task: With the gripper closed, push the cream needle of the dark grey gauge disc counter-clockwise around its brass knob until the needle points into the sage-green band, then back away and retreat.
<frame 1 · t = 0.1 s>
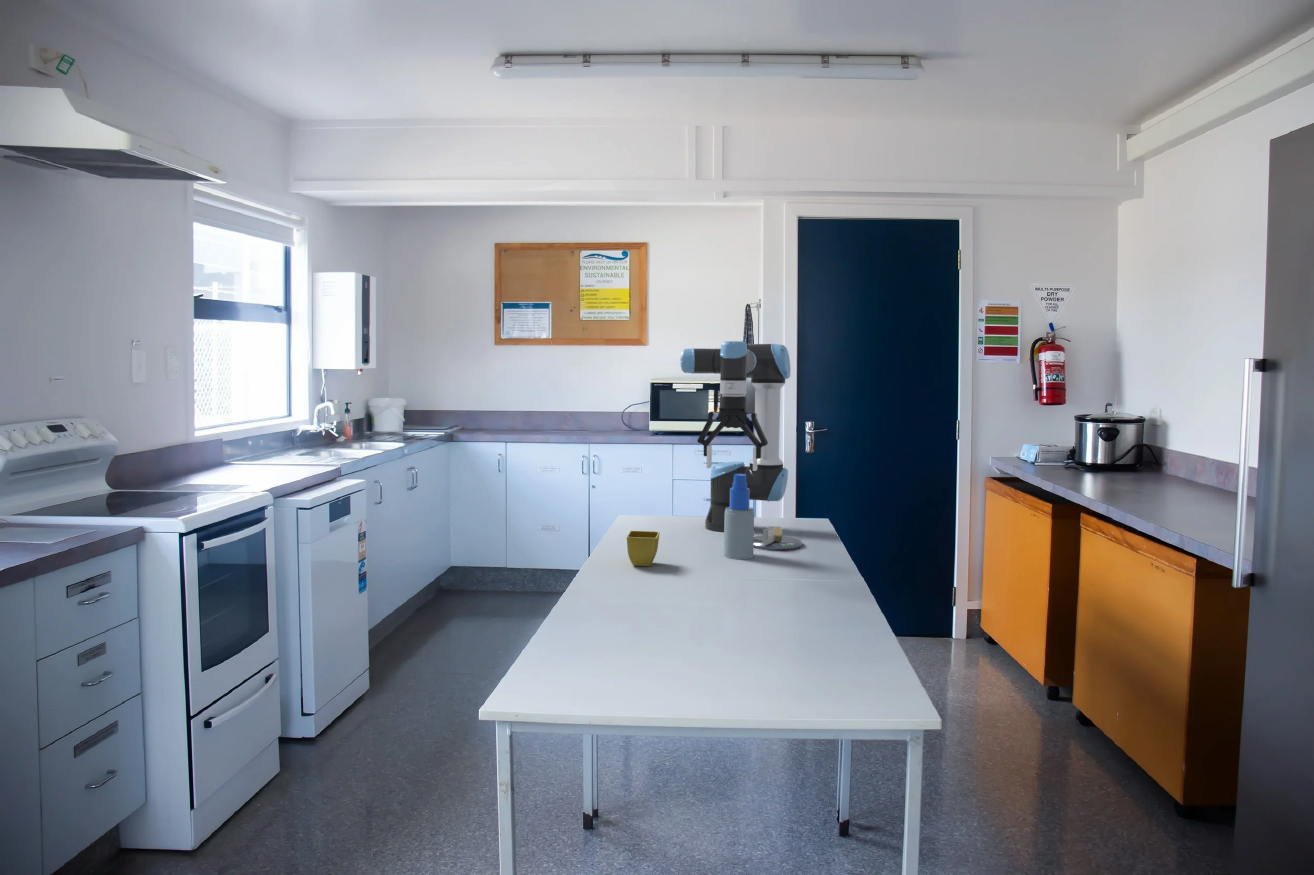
hand: (731, 469, 233), 28 cm above the table, fingers open, 13 cm apart
spray bottle: (738, 556, 246), on the table
needle dial: (771, 534, 258), point 4 cm above the table, hinge at -10.0°
gauge plate: (774, 544, 261), on the table
gold square bowl: (643, 565, 235), on the table
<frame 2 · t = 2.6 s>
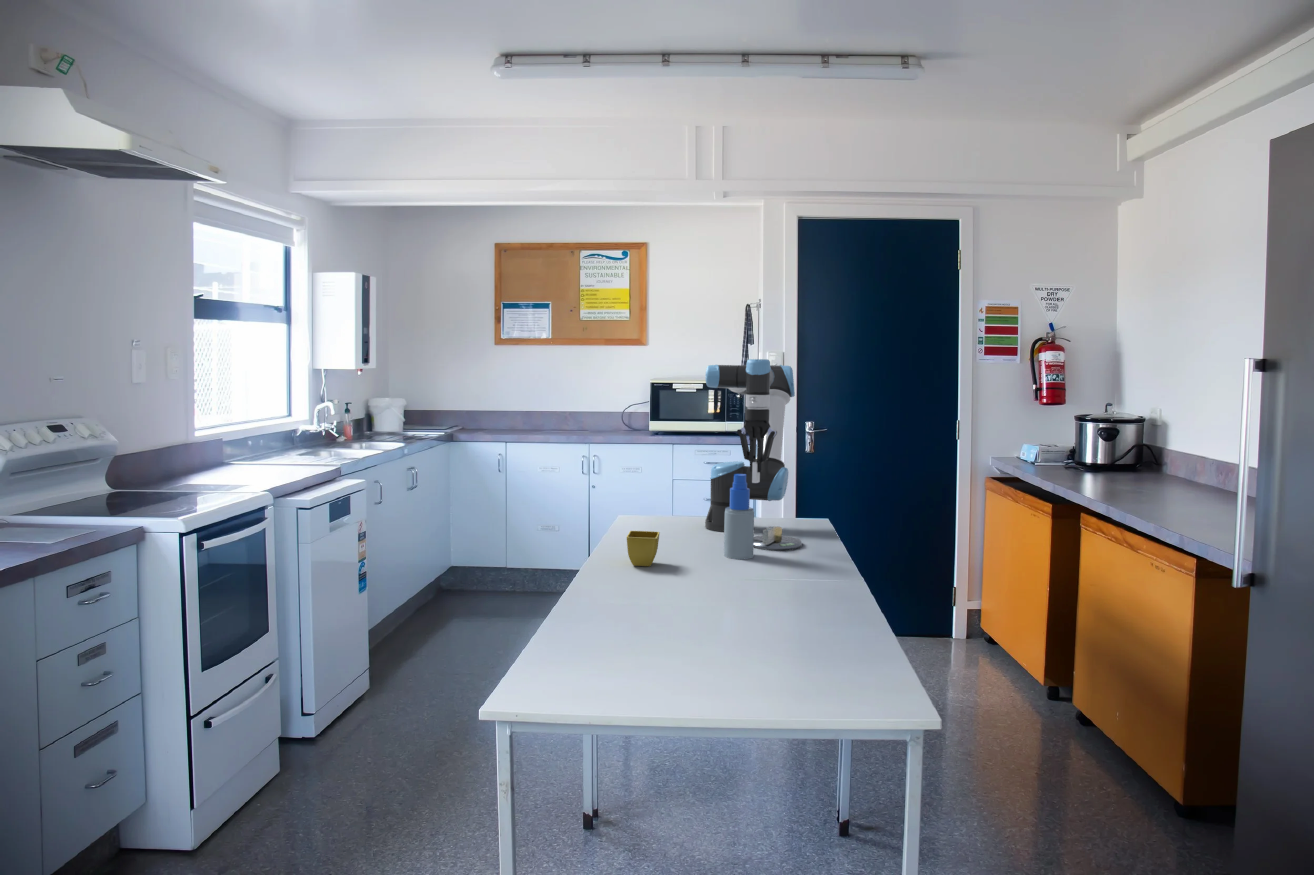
hand: (755, 482, 257), 21 cm above the table, fingers closed
nothing on the table moved.
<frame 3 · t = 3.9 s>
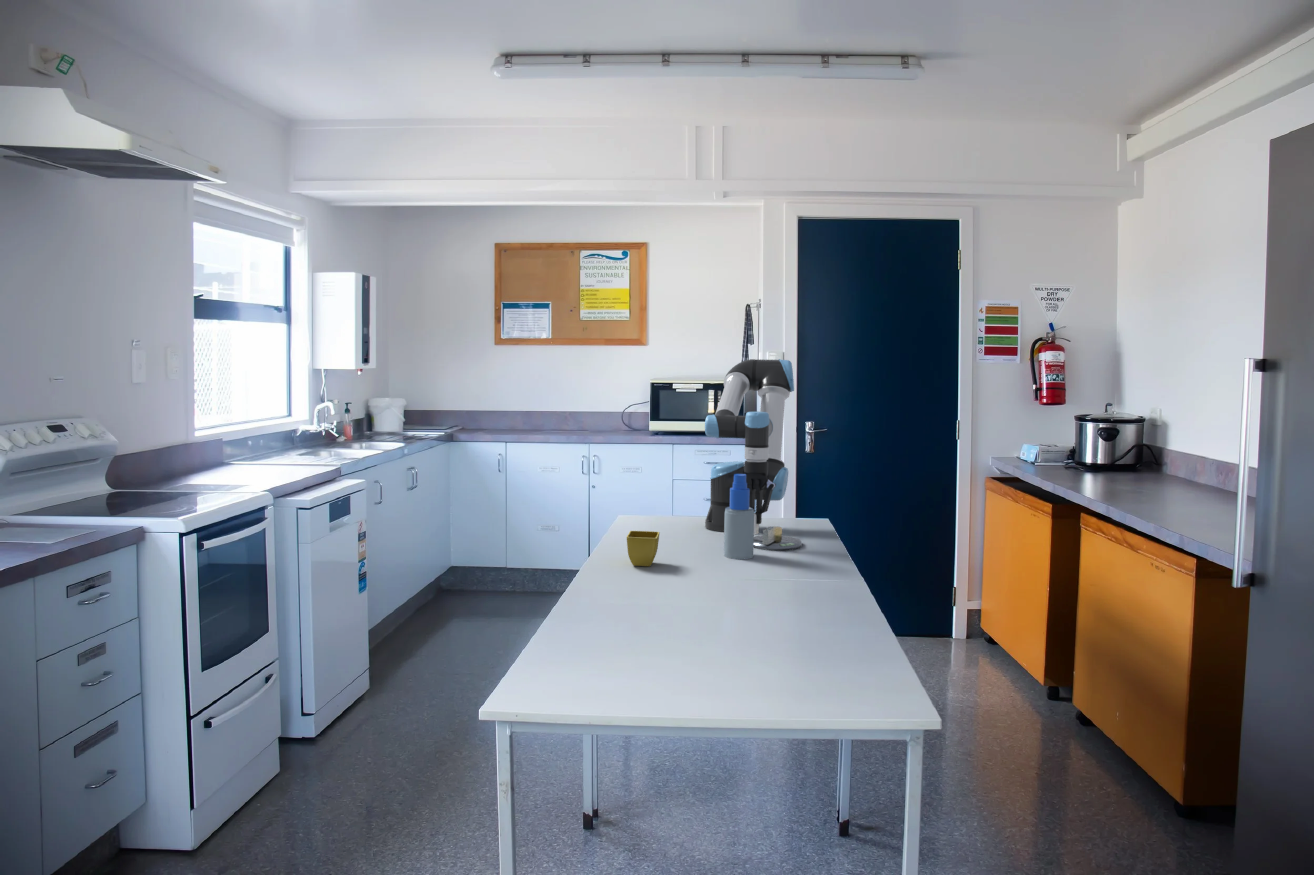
hand: (754, 533, 258), 4 cm above the table, fingers closed
nothing on the table moved.
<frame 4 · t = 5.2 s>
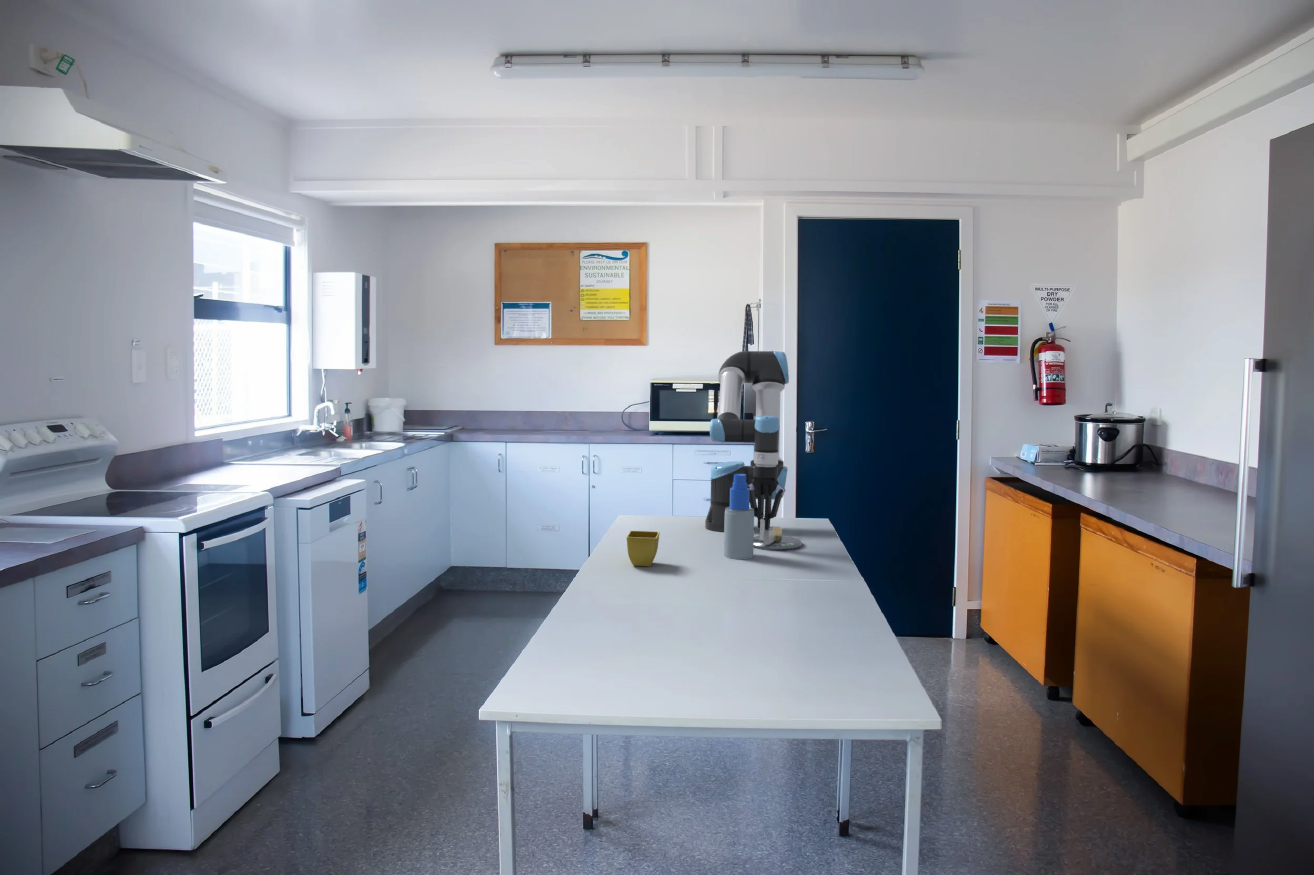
hand: (763, 539, 255), 3 cm above the table, fingers closed
needle dial: (771, 534, 258), point 4 cm above the table, hinge at -8.3°, touching gripper
everything else where it was.
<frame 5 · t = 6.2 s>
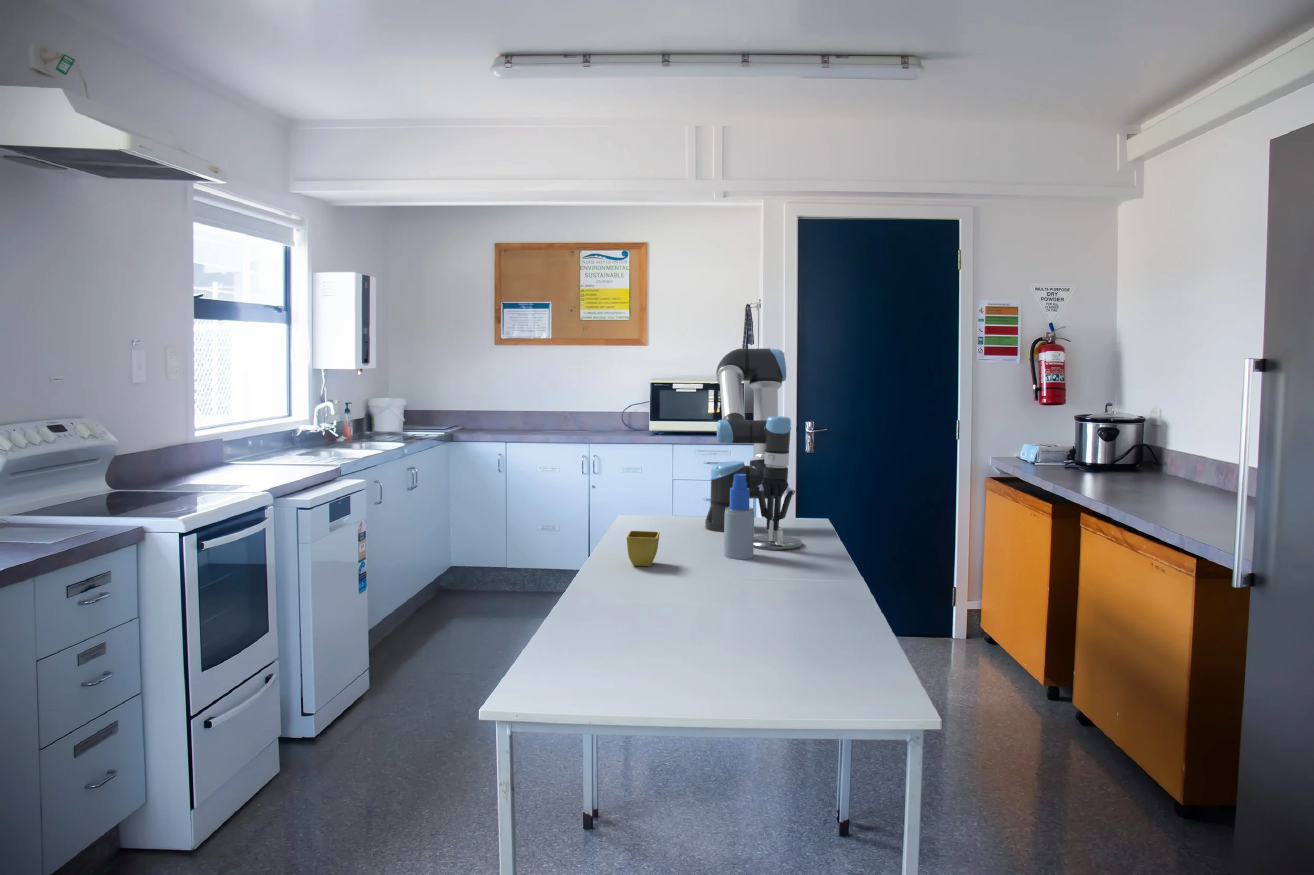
hand: (771, 540, 254), 3 cm above the table, fingers closed
needle dial: (776, 534, 257), point 4 cm above the table, hinge at 21.2°, touching gripper
everything else where it was.
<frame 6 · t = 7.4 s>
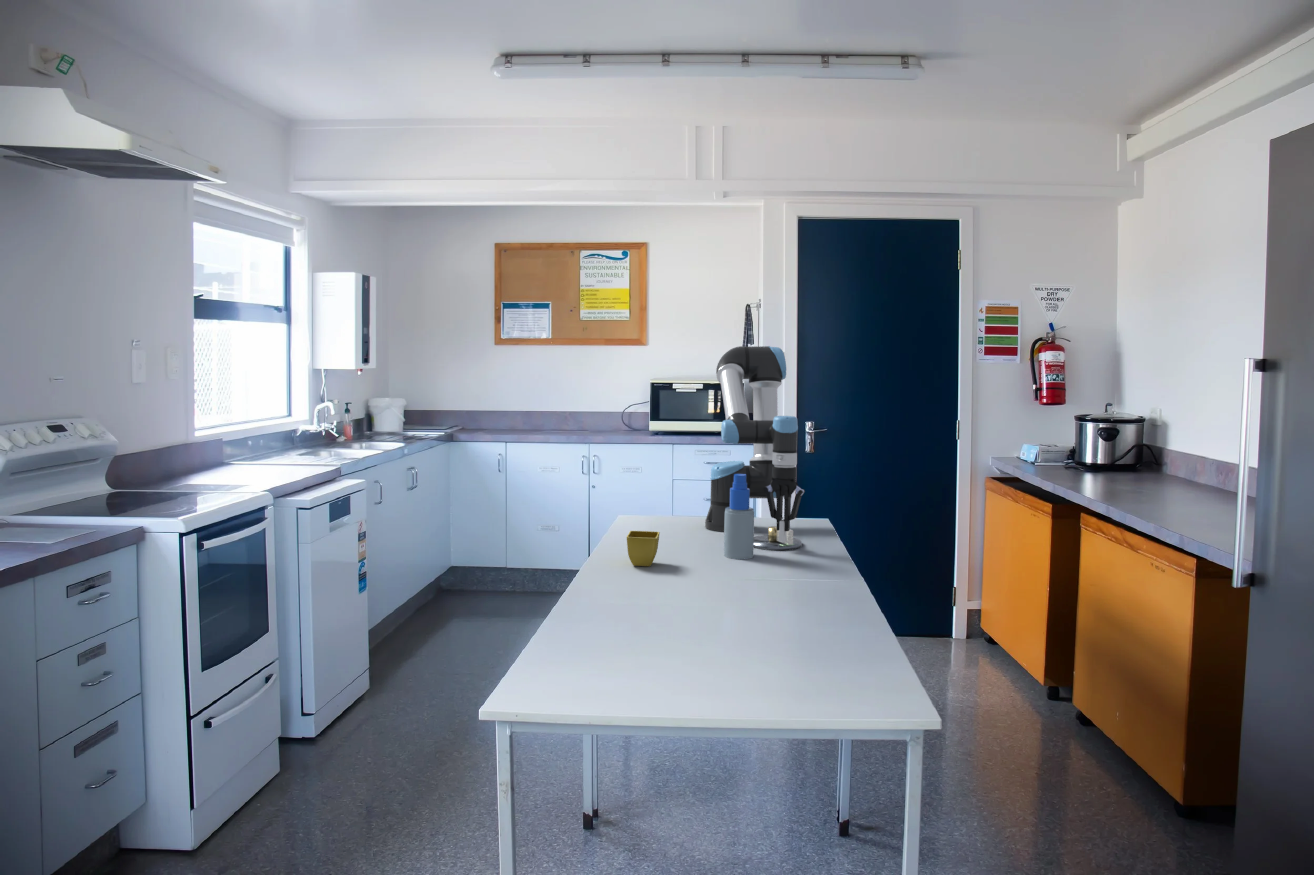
hand: (782, 541, 252), 3 cm above the table, fingers closed
needle dial: (780, 534, 258), point 4 cm above the table, hinge at 46.0°
everything else where it was.
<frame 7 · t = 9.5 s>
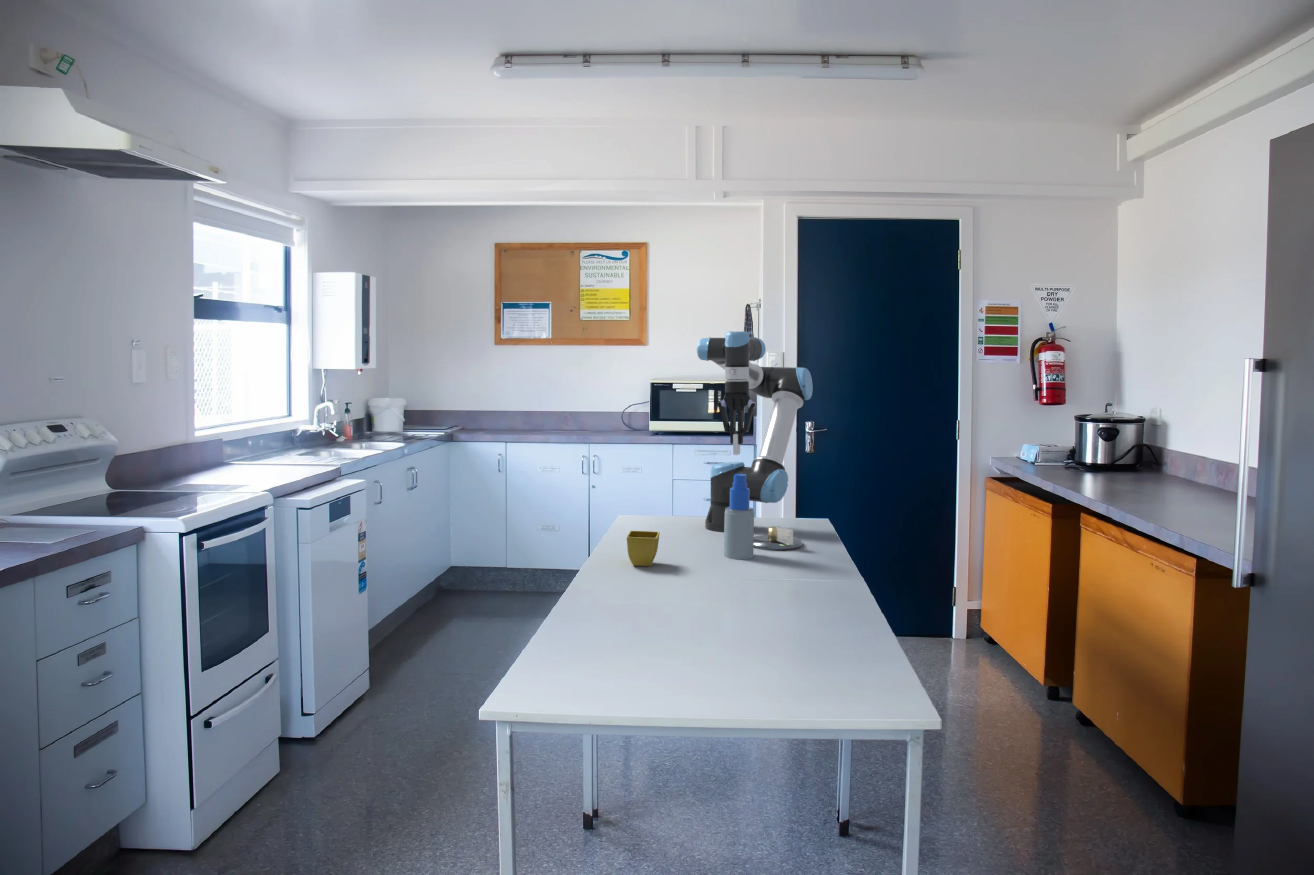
hand: (736, 454, 258), 29 cm above the table, fingers closed
nothing on the table moved.
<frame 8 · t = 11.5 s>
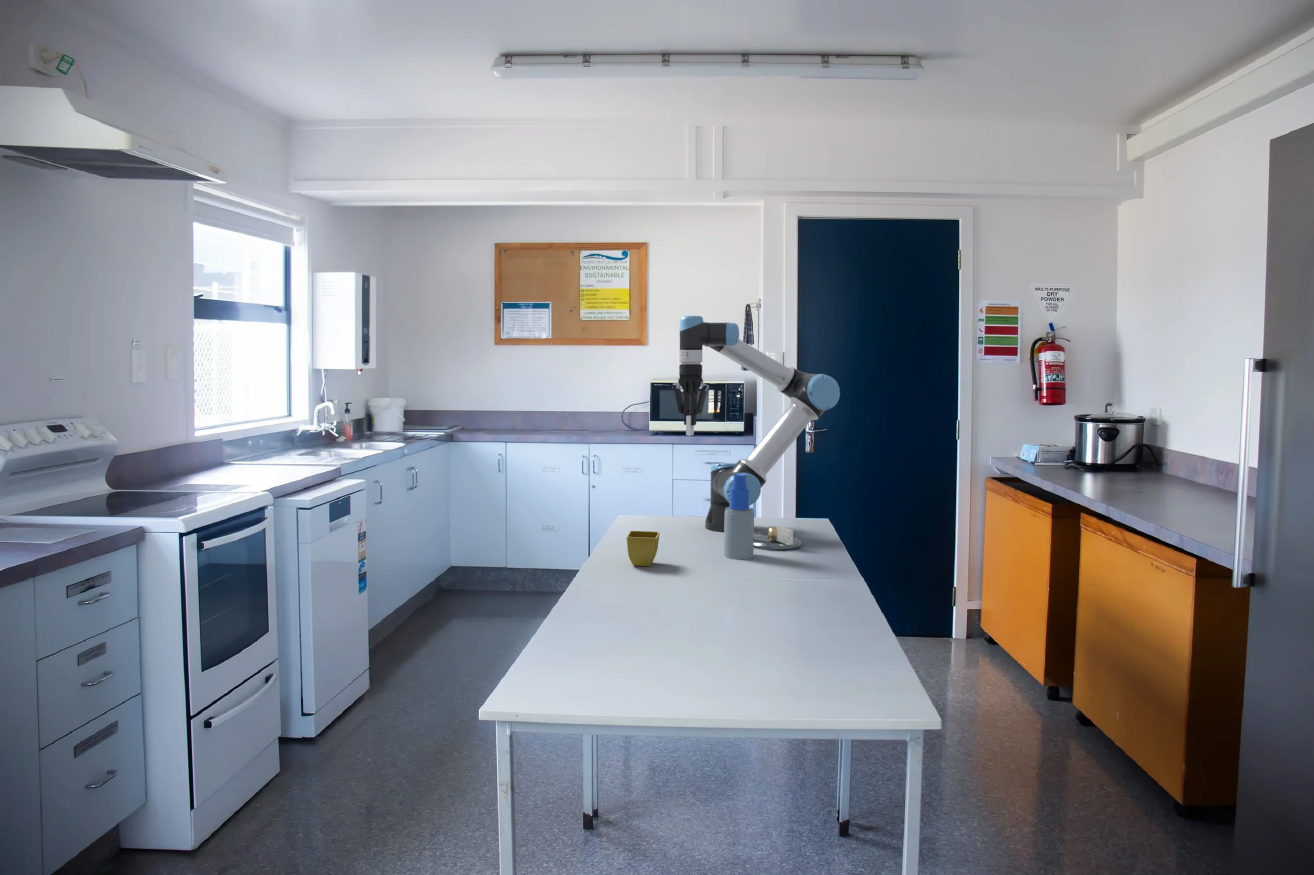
hand: (689, 435, 267), 34 cm above the table, fingers closed
nothing on the table moved.
at the end: needle dial at +46° (first picture: -10°) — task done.
